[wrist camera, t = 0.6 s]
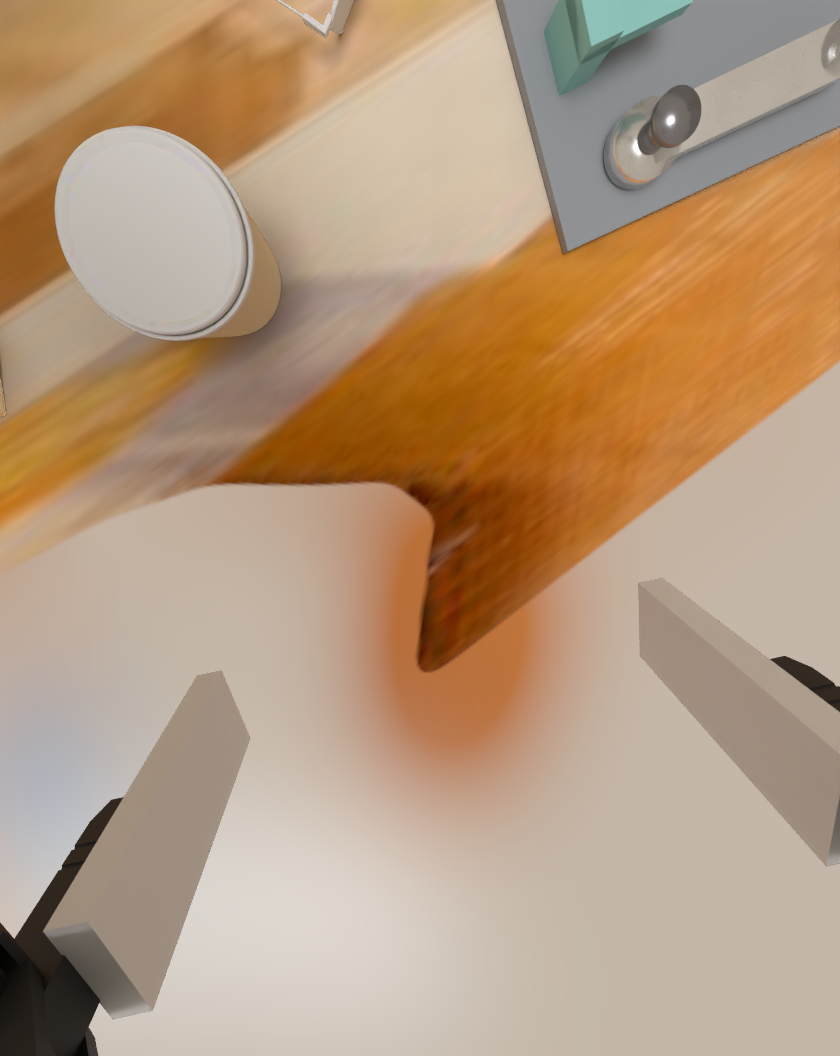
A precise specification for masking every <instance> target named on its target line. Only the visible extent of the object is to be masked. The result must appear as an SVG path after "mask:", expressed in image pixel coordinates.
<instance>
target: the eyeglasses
mask: <svg viewBox="0 0 840 1056" xmlns="http://www.w3.org/2000/svg"><path fill="white" fill-rule="evenodd" d="M277 1H278V2H280V3H281V4H283V5H284V6H286V7H287V8H289V9H290V10H292V11H293V12H295V13H296V14H298V15H299V16H301V17H302V18H303V20H304V22H305V24H306V25H307V26H309V27H310V28H312V29H313V30H314V31H316V32H317V33H319V34H320V35H321V36H323V37H324V38H325V39H326V38H327V36H328V33H329V31H330V29H331V30H332V31H333V32H335V33H337V34H341V33H343V32H344V30H343V28H344V25H345V23H346V20H347V18H348V15H349V13H350V10H351V8H352V5H353V3H354V0H334V1H333V4H332V8H331V12H330V14H329V13H328V15H327V18H326V20H325V22H324V24H323V25H322V24H320V23H319V22H318V21H316V20H315V19H314V18H312V17H311V16H309V15H308V14H307V13H306V14H303V15H302V14H301V13H299V12H298V11H296V10H295V9H293V8H292V7H290V6H289V5H287V4H286V3H284V2H283V1H281V0H277Z"/></svg>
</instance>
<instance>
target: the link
mask: <svg viewBox="0 0 840 1056" xmlns="http://www.w3.org/2000/svg"><path fill="white" fill-rule="evenodd" d="M838 79H840V19H838V20H836V21H834V22H832V23H830V24H828V25H826V26H824V27H821V28H819V29H817V30H815V31H813V32H811V33H809V34H807V35H805V36H803V37H801V38H798V39H796V40H794V41H792V42H790V43H788V44H786V45H784V46H782V47H780V48H778V49H775V50H773V51H771V52H769V53H767V54H765V55H763V56H761V57H759V58H757V59H755V60H753V61H750V62H748V63H746V64H744V65H742V66H740V67H738V68H736V69H734V70H732V71H730V72H727V73H725V74H723V75H721V76H719V77H717V78H715V79H713V80H711V81H709V82H707V83H704V84H702V85H700V86H698V87H696V88H694V89H693V88H692V87H690V86H688V85H677V86H675V87H673V88H671V89H670V90H668V91H667V92H666V93H665V94H664V95H663V96H662V97H660V96H651V97H647V98H644V99H642V100H640V101H639V102H637V103H636V104H635V105H634V106H633V107H632V108H631V109H630V110H629V111H628V112H627V113H626V114H625V115H624V116H623V117H622V118H621V119H620V120H619V121H618V122H617V123H616V124H615V126H614V127H613V128H612V130H611V131H610V133H609V135H608V137H607V140H606V143H605V148H604V165H605V169H606V172H607V174H608V176H609V178H610V179H611V181H612V182H613V183H614V184H615V185H617V186H618V187H620V188H623V189H628V190H632V189H638V188H640V187H642V186H644V185H646V184H647V183H649V182H650V181H652V180H653V179H655V178H656V177H657V176H659V175H660V174H662V173H663V172H665V171H666V170H667V169H668V168H669V167H670V166H671V164H672V163H673V162H674V160H675V159H677V158H679V157H681V156H683V155H685V154H687V153H689V152H691V151H694V150H696V149H698V148H700V147H702V146H704V145H706V144H709V143H711V142H713V141H715V140H717V139H719V138H721V137H723V136H726V135H728V134H730V133H732V132H734V131H736V130H738V129H741V128H743V127H745V126H747V125H749V124H751V123H753V122H755V121H758V120H760V119H762V118H764V117H766V116H768V115H770V114H773V113H775V112H777V111H779V110H781V109H783V108H785V107H787V106H790V105H792V104H794V103H796V102H798V101H800V100H802V99H804V98H807V97H809V96H811V95H813V94H815V93H817V92H819V91H821V90H822V89H824V88H826V87H827V86H829V85H830V84H832V83H834V82H835V81H837V80H838Z"/></svg>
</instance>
